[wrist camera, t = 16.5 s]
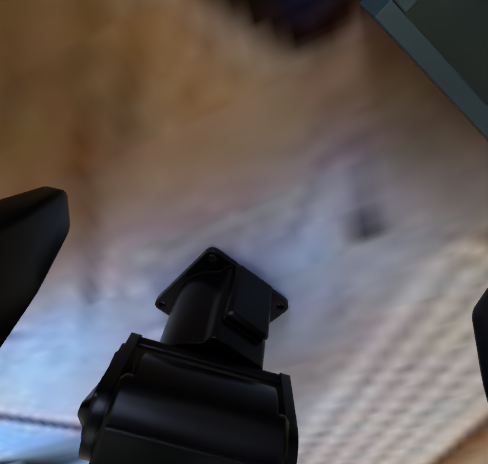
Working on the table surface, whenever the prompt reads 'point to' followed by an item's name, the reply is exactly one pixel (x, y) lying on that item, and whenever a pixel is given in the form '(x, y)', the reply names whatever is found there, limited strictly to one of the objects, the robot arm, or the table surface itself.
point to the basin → (444, 47)
